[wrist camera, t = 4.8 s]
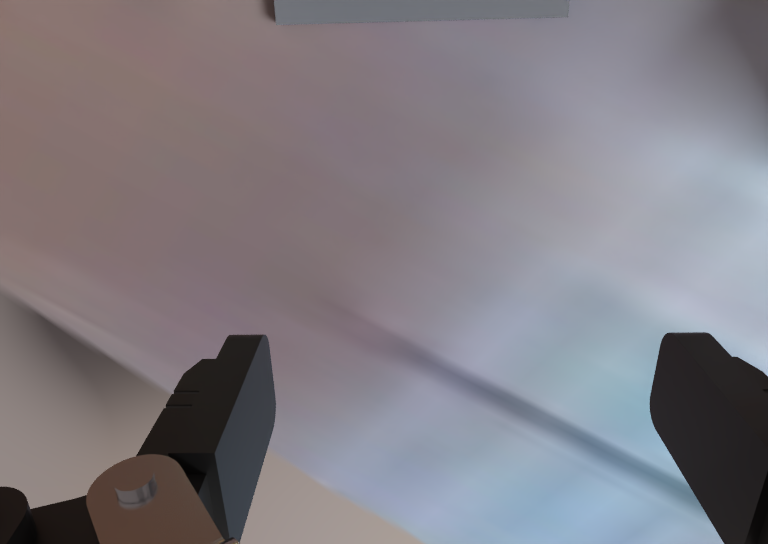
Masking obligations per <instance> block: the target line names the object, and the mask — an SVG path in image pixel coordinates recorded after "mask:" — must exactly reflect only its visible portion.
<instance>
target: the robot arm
mask: <svg viewBox="0 0 768 544" xmlns="http://www.w3.org/2000/svg"><path fill="white" fill-rule="evenodd" d="M275 412H276V400H275V390H274V382H273V373H272V365H271V356H270V348H269V342H268V338H267V336H266V335H229V336H228V337H227V339H226V341H225V343H224V345H223V346H222V348H221V350H220V352H219V354H218V356H217V358H216V359H202V360H201V361H199V362H198V363H197V364H196V365H194V366H193V367H192V368H191V369H189V370H188V371H187V372H185V373H184V374H183V376H182V378H181V379H180V381H179V383H178V385H177V386H176V388H175V390H174V394H172V395H171V397H170V398H169V400H168V402H167V404H166V408H164V409H163V411H162V412H161V414H160V416H159V418H158V419H157V421H156V423H155V424H154V426H153V428H152V430H151V431H150V433H149V435H148V437H147V438H146V440H145V442H144V443H143V445H142V447H141V449H140V450H139V452H138V454H137V455H136V457H132V458H129V459H126V460H123V461H121V462H119V463H117V464H115V465H114V466H112V467H110V468H109V469H107V470H106V471H105V472H103V473H102V474H101V475H100V476H99V477H98V478H97V479H96V480H95V481H94V482H93V484H92V485H91V487H90V489H89V491H88V493H87V495H86V496H83V497H79V498H76V499H72V500H68V501H63V502H59V503H55V504H50V505H47V506H42V507H38V508H34V509H30V507H29V505H28V501H27V499H26V497H25V495H24V494H23V493H22V492H21V491H19V490H17V489H15V488H10V487H0V544H240V539H241V536H242V533H243V529H244V526H245V522H246V519H247V516H248V512H249V509H250V506H251V502H252V499H253V495H254V492H255V488H256V485H257V482H258V478H259V475H260V472H261V468H262V465H263V462H264V458H265V455H266V451H267V448H268V445H269V441H270V438H271V434H272V431H273V427H274V422H275ZM650 413H651V418H652V422H653V425H654V427H655V429H656V431H657V432H658V434H659V436H660V437H661V439H662V441H663V442H664V444H665V446H666V447H667V449H668V451H669V452H670V454H671V456H672V457H673V459H674V461H675V462H676V464H677V466H678V467H679V469H680V471H681V472H682V474H683V476H684V477H685V479H686V481H687V482H688V484H689V486H690V487H691V489H692V491H693V492H694V494H695V496H696V497H697V499H698V501H699V502H700V504H701V506H702V507H703V509H704V511H705V512H706V514H707V516H708V517H709V519H710V521H711V522H712V524H713V526H714V527H715V529H716V531H717V532H718V534H719V536H720V537H721V539H722V541H723V542H724V544H768V377H767V376H766V375H765V374H764V372H762V371H760V370H759V369H757V368H755V367H754V366H752V365H750V364H749V363H747V362H745V361H743V360H742V359H740V358H738V357H731V355H730V354H729V353H728V352H727V351H726V350H725V349H724V348H723V347H722V346H721V345H720V344H719V343H718V342H717V341H716V340H715V338H714V337H713V336H712V335H710V334H709V333H705V332H703V333H667V334H665V336H664V337H663V339H662V341H661V345H660V350H659V355H658V360H657V365H656V370H655V375H654V380H653V385H652V390H651V395H650Z"/></svg>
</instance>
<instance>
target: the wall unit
mask: <svg viewBox="0 0 768 544" xmlns="http://www.w3.org/2000/svg"><path fill="white" fill-rule="evenodd" d="M569 1H570V0H274V7H275V18H276V25H290V24H328V23H366V22H403V21H441V20H479V19H516V18H554V17H568V12H569Z"/></svg>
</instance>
